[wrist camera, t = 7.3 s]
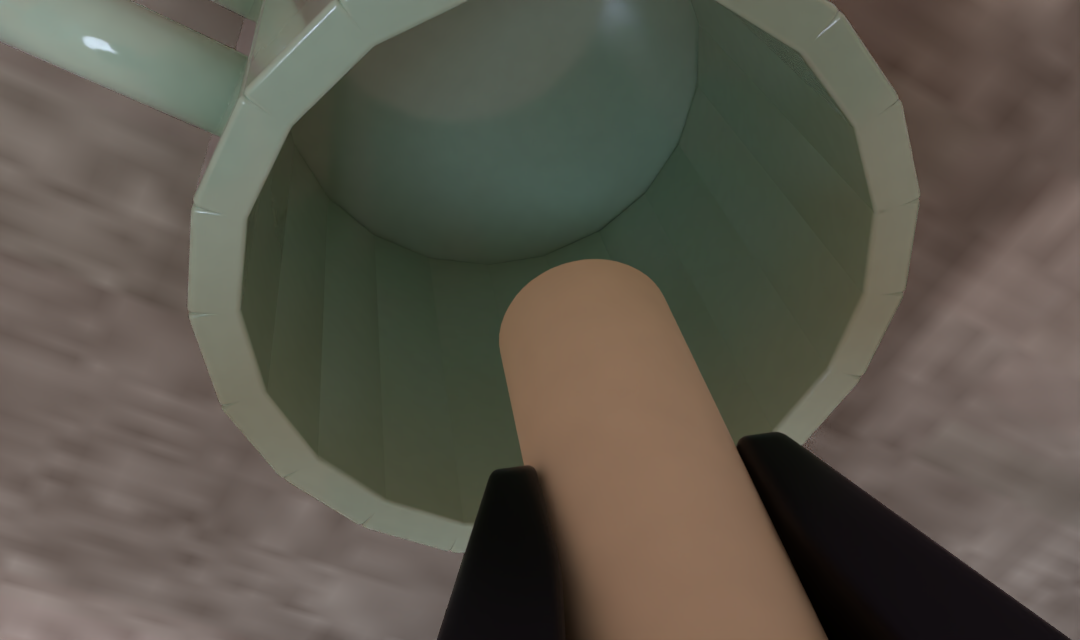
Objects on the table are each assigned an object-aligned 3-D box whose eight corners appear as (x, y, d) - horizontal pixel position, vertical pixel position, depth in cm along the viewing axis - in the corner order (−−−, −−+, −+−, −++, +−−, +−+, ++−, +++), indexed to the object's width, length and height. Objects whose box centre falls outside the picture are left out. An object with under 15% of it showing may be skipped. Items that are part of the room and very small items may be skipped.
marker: (602, 216, 10) (1010, 1151, 4) (704, 330, 12) (1159, 1209, 5) (455, 331, 11) (604, 1317, 5) (568, 428, 12) (819, 1335, 6)
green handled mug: (809, -25, 18) (1063, 156, 12) (565, 326, 22) (656, 612, 15) (176, -448, 13) (15, -536, 7) (-1, 93, 17) (-214, 366, 11)
